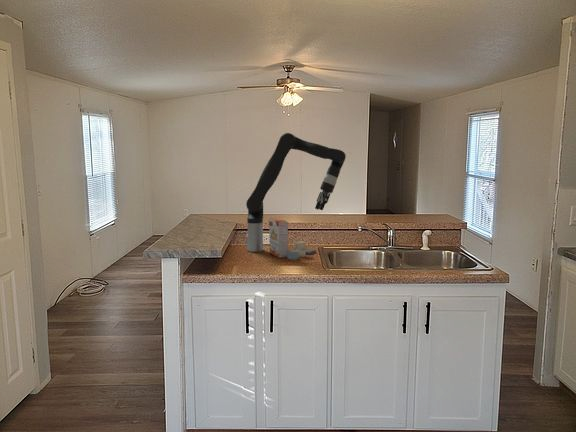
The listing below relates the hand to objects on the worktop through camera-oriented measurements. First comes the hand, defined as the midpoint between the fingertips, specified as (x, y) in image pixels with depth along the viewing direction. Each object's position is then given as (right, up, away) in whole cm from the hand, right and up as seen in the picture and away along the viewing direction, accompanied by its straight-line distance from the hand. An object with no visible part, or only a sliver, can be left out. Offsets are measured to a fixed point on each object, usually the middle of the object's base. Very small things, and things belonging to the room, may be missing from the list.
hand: (318, 209), depth 281 cm
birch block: (-11, -27, -1) cm, 29 cm away
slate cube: (-15, -28, -8) cm, 32 cm away
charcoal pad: (-7, -26, +7) cm, 27 cm away
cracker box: (-23, -27, 0) cm, 35 cm away
